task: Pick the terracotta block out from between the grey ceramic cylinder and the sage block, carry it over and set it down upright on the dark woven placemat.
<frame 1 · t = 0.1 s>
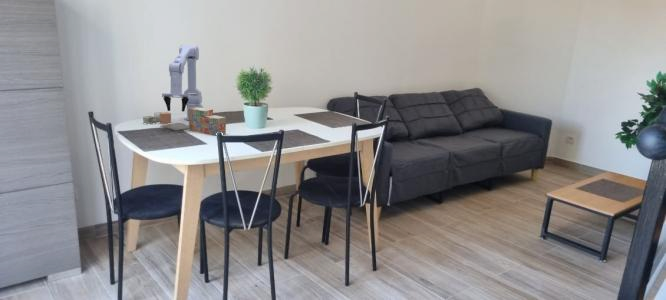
hand: (176, 111, 256), 11 cm above the table, tool pointing down, fingers open, 7 cm apart
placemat: (178, 127, 267), on the table
stack of blocks: (207, 132, 258), on the table
terracotta block: (165, 123, 276), on the table
sage block: (149, 123, 274), on the table
grey cylinder: (159, 121, 281), on the table
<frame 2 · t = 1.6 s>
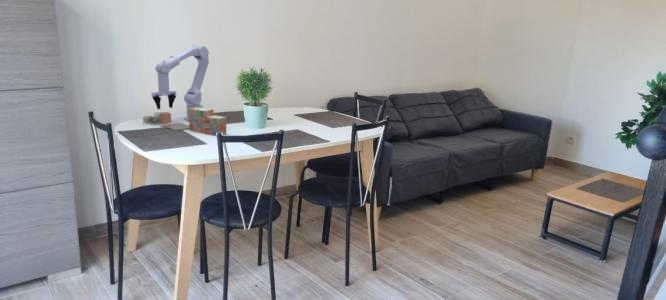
hand: (164, 108, 274), 9 cm above the table, tool pointing down, fingers open, 7 cm apart
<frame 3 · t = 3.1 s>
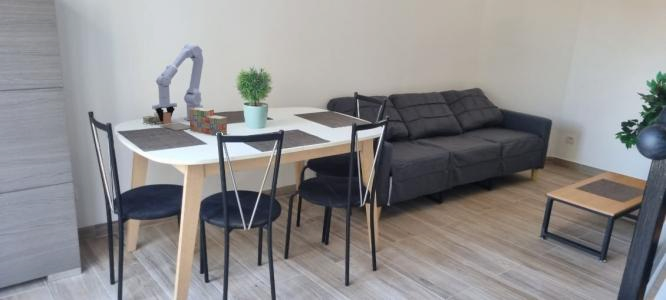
hand: (165, 120, 276), 2 cm above the table, tool pointing down, fingers closed on terracotta block, 4 cm apart
terracotta block: (165, 123, 276), on the table, touching gripper
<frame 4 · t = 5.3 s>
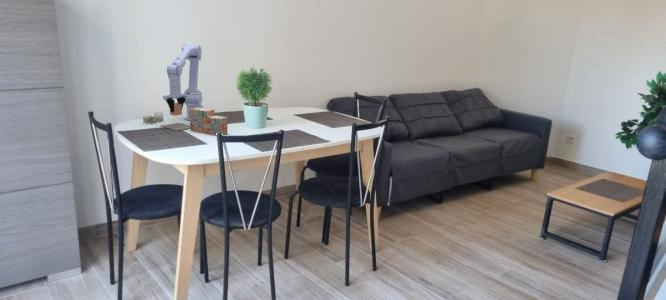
hand: (176, 111, 266), 9 cm above the table, tool pointing down, fingers closed on terracotta block, 4 cm apart
terracotta block: (176, 114, 266), point 7 cm above the table, touching gripper
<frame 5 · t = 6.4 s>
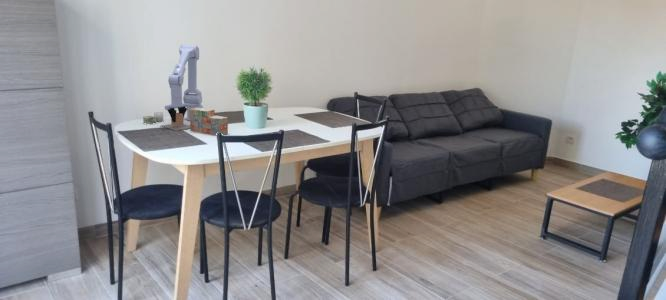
hand: (177, 121, 266), 3 cm above the table, tool pointing down, fingers closed on terracotta block, 4 cm apart
terracotta block: (177, 124, 267), point 2 cm above the table, touching gripper
when the fingers open (3 cm above the table, at t = 7.3 s): terracotta block stays where it is, resting on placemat.
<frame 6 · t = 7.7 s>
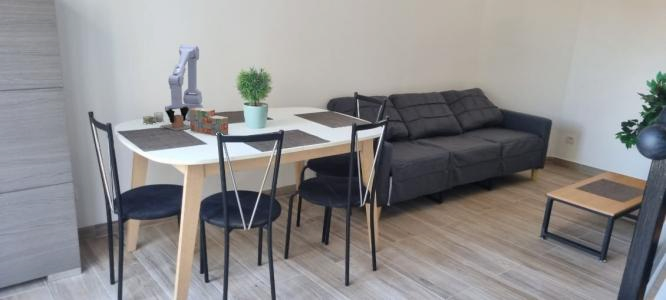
hand: (177, 121, 266), 3 cm above the table, tool pointing down, fingers open, 7 cm apart
terracotta block: (177, 126, 267), resting on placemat
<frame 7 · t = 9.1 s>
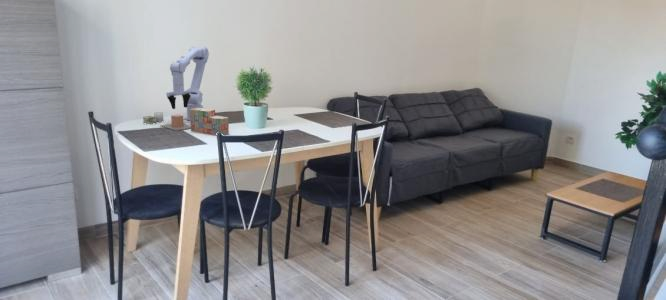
hand: (179, 108, 273), 9 cm above the table, tool pointing down, fingers open, 7 cm apart
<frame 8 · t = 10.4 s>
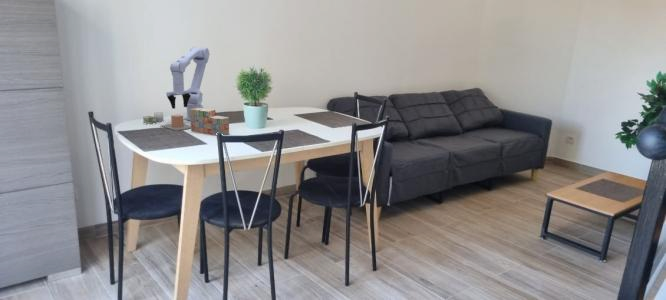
hand: (179, 107, 274), 9 cm above the table, tool pointing down, fingers open, 7 cm apart
at the end: terracotta block inside the target area on the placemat (0.3 cm from its centre), point 0.5 cm above the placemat's base; terracotta block tilted 0°; the gripper is holding nothing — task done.
